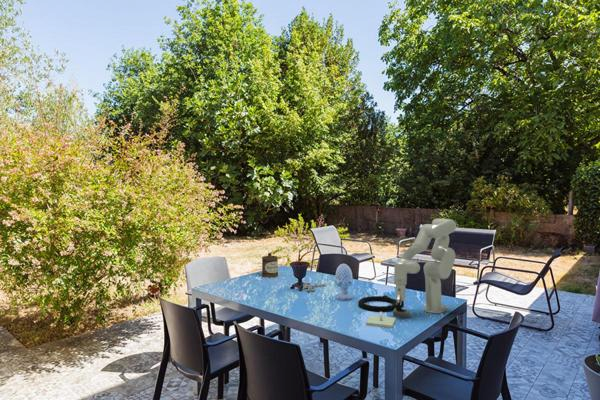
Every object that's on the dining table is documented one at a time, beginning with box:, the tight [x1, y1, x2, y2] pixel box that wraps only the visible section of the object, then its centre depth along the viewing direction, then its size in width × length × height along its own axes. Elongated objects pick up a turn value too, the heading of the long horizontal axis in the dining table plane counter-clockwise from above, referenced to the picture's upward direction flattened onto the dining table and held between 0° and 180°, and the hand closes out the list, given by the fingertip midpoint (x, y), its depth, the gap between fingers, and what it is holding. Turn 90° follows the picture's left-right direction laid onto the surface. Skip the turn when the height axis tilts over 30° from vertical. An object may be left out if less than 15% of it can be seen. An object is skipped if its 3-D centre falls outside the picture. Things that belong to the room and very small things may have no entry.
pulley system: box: [302, 282, 327, 293], centre depth 306 cm, size 27×5×15 cm
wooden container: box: [261, 252, 279, 279], centre depth 353 cm, size 15×15×22 cm
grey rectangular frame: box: [392, 308, 410, 319], centre depth 232 cm, size 9×6×4 cm, turn 68°
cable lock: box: [357, 294, 397, 313], centre depth 255 cm, size 28×4×30 cm
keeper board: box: [365, 312, 397, 329], centre depth 221 cm, size 15×14×6 cm
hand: (399, 309), depth 232 cm, fingers open, 9 cm apart
